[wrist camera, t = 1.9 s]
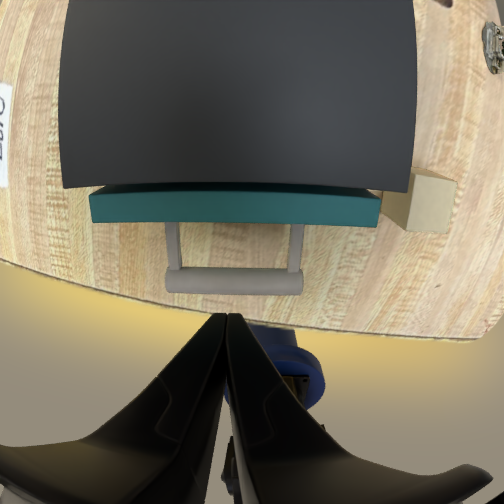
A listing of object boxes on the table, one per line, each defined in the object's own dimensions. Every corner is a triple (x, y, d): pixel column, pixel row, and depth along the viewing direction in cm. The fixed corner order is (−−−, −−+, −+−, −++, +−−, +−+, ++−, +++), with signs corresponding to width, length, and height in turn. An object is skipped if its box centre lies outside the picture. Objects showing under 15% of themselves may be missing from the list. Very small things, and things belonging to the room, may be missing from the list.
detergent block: (418, 214, 20) (447, 234, 16) (379, 211, 20) (405, 231, 16) (426, 169, 18) (458, 181, 14) (386, 162, 18) (415, 173, 14)
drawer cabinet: (334, 157, 18) (408, 194, 9) (143, 155, 18) (62, 189, 9) (336, -30, 12) (389, -98, 3) (154, -32, 11) (103, -100, 3)
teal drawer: (319, 254, 20) (354, 326, 13) (155, 251, 20) (113, 320, 13) (333, -7, 12) (379, -63, 5) (155, -9, 12) (108, -64, 5)
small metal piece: (482, 13, 11) (502, 8, 9) (498, 27, 12) (518, 25, 9) (479, 62, 14) (502, 61, 11) (495, 76, 14) (518, 77, 11)
